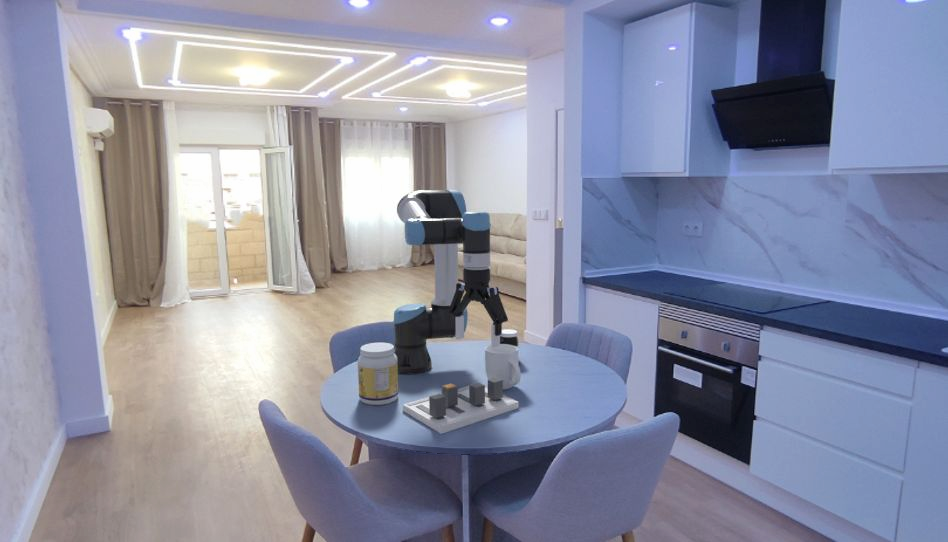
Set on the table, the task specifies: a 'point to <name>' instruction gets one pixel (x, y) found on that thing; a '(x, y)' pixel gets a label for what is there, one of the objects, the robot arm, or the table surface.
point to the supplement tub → (378, 374)
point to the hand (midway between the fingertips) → (477, 342)
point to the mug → (503, 364)
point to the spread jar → (509, 337)
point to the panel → (459, 411)
